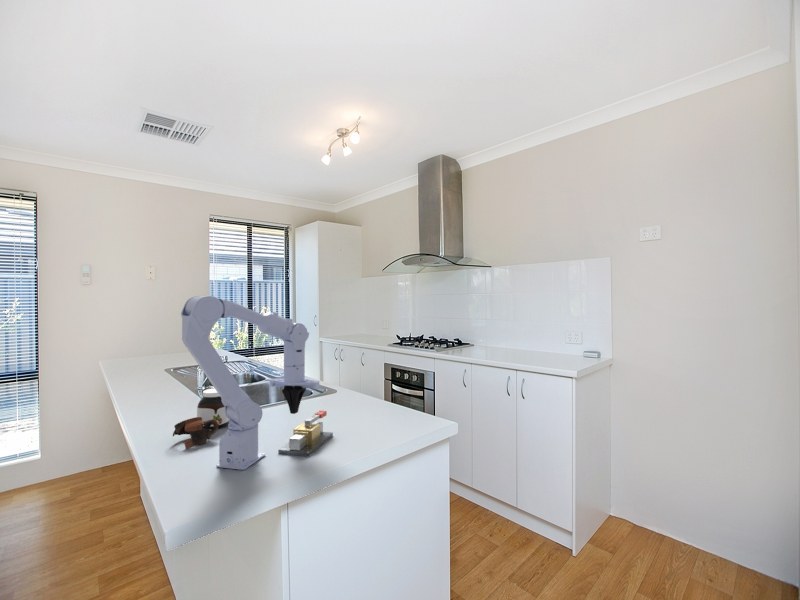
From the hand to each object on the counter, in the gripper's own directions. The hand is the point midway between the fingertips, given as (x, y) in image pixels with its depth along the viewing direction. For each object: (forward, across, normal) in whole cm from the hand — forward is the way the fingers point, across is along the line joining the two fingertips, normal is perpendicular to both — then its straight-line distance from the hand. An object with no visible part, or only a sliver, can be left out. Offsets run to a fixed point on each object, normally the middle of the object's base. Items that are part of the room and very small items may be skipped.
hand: (294, 412), depth 111 cm
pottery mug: (+10, +29, +4) cm, 31 cm away
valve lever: (+4, -3, -7) cm, 9 cm away
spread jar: (+10, +34, -12) cm, 37 cm away
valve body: (+9, -3, -2) cm, 10 cm away
